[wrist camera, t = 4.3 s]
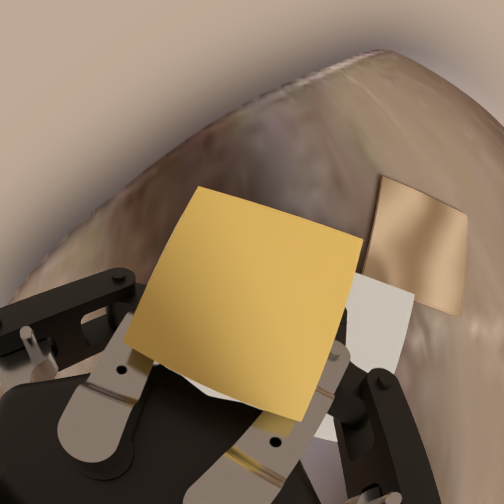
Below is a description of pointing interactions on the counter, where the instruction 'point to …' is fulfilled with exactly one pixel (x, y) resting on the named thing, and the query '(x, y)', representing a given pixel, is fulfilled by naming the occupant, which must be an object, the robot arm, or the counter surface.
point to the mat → (418, 247)
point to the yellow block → (247, 301)
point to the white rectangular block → (364, 333)
